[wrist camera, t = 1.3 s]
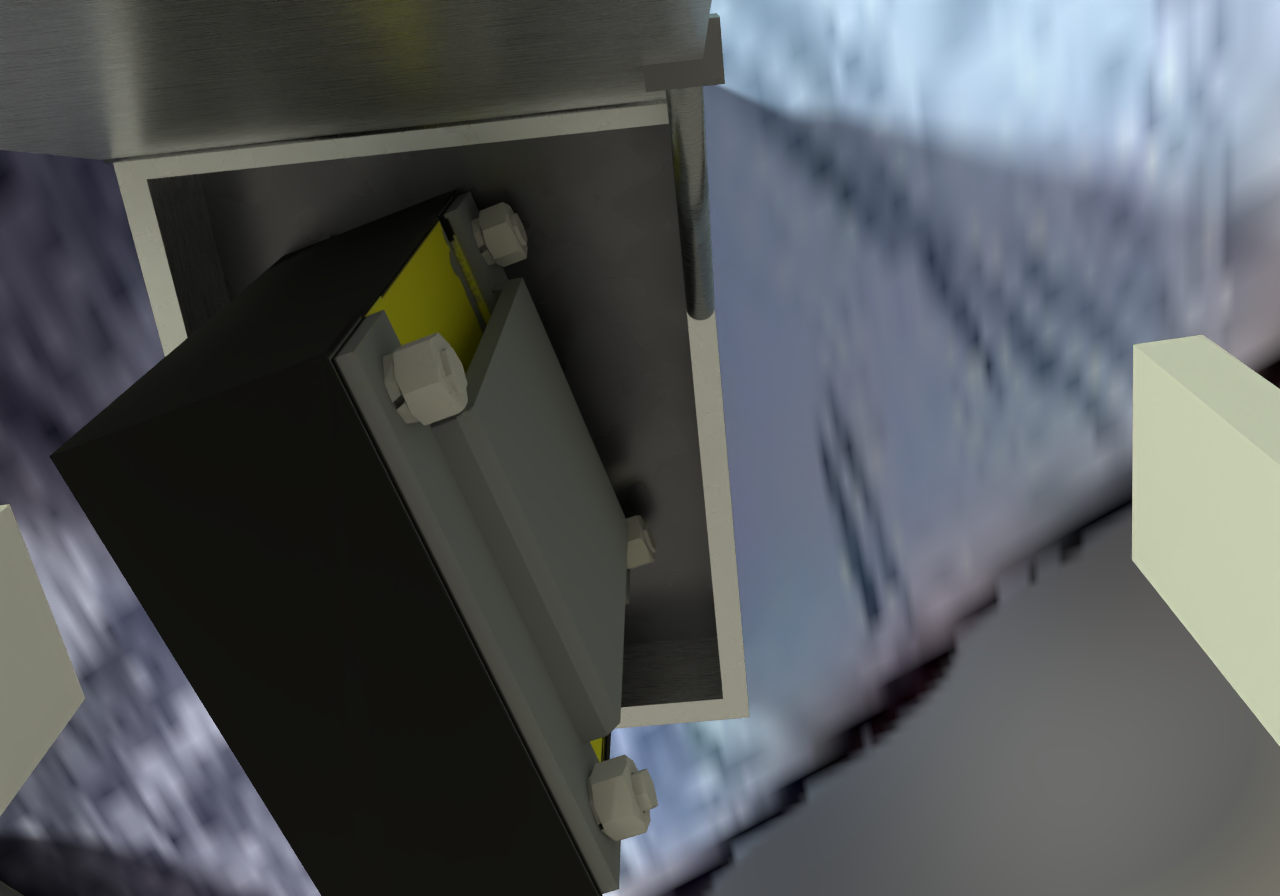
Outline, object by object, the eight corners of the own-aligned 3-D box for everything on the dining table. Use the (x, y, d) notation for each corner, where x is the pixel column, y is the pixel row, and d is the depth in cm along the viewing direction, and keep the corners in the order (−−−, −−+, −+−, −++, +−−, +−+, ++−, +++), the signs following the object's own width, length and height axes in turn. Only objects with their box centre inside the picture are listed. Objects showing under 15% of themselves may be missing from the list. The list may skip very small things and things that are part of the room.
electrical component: (667, 554, 53) (675, 887, 34) (451, 626, 54) (347, 982, 36) (506, 169, 46) (409, 321, 28) (267, 262, 48) (24, 465, 29)
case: (303, 688, 56) (-39, 1422, 28) (121, -39, 44) (-774, 1, 16) (752, 650, 55) (853, 1372, 27) (691, -104, 43) (758, -182, 15)
